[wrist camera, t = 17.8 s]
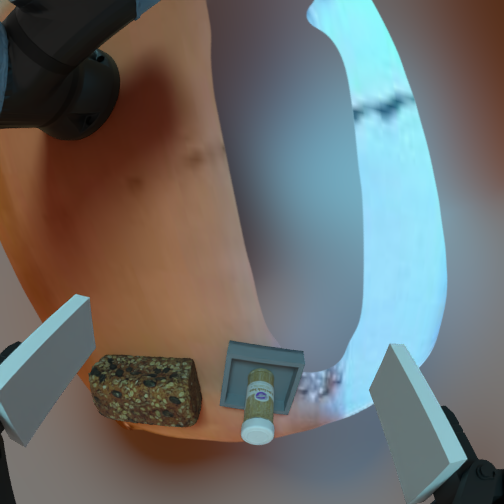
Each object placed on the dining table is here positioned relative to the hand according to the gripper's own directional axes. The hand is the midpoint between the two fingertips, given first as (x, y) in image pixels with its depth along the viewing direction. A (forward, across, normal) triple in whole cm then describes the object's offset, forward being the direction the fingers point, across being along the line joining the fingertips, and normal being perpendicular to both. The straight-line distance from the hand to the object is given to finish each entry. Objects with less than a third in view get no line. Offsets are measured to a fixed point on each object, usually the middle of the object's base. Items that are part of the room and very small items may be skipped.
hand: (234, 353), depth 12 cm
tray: (+31, +5, -27) cm, 42 cm away
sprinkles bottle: (+30, +5, -27) cm, 41 cm away
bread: (+31, -14, -33) cm, 48 cm away
